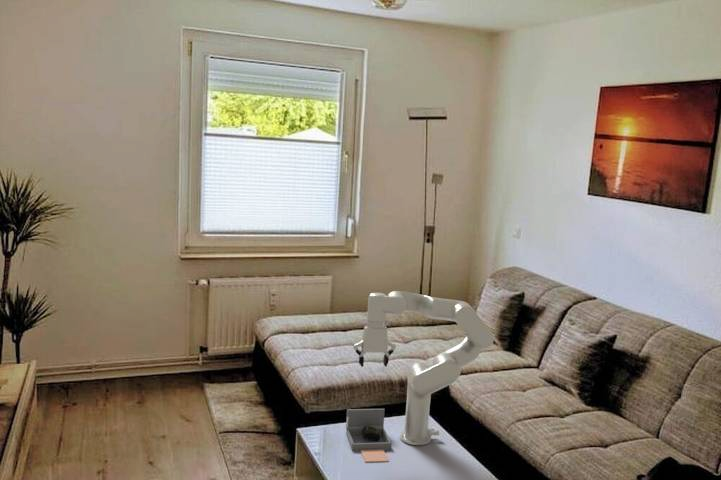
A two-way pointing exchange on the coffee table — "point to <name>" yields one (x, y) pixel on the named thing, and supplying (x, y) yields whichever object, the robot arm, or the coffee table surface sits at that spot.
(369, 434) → the tape measure
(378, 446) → the case
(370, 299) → the robot arm
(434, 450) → the coffee table surface
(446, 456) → the coffee table surface
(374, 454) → the mat
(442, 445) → the coffee table surface
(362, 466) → the coffee table surface
